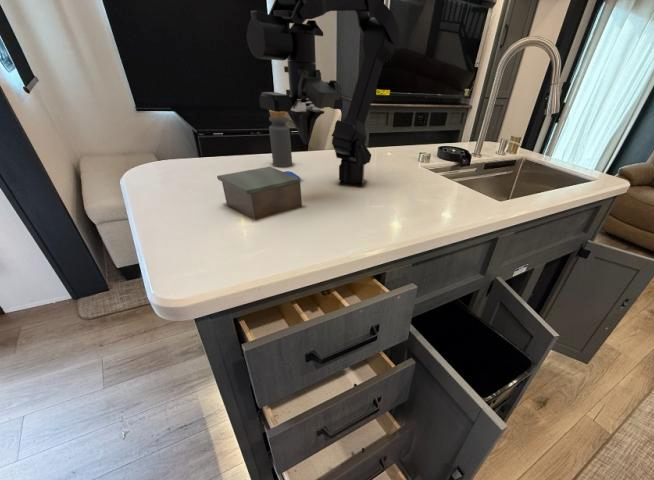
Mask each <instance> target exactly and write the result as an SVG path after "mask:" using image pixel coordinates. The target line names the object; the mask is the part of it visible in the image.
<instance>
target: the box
mask: <svg viewBox="0 0 654 480" xmlns="http://www.w3.org/2000/svg"><path fill="white" fill-rule="evenodd" d="M221 185H222V189H223V195H224V198H225V202H226V205H227V206H230V208H232V209H234V210H236V211H238V212H240V213H242V215H243V214H244V216H246V217H249V218H250V219H252V220H253V221H257V220H260V219H265V218H268V217H271V216H274V215H275V216H276V215H278V214H283V213H285V212H289V211H292V210H295V209H299V208H302V207H303V200H302V187H301V186H302V185H301V181H300V182H299V183H294V184H290V185H286V186H281V187H277V188H273V189H268V190H264V191H260V192H255V193H251V194H245V193H243V192H241V191H239V190H238V189H236V188H234V187H232V186H230V185H228V184H226V183H224V182H222V181H221Z"/></svg>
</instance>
